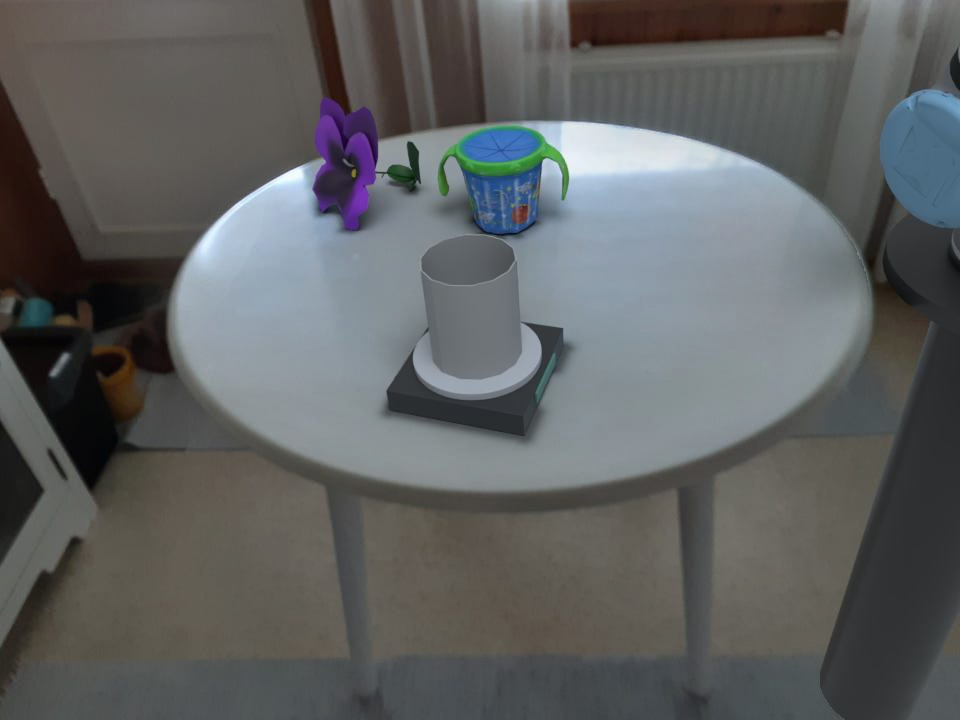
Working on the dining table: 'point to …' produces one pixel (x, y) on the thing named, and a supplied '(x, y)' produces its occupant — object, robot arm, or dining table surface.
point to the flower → (352, 161)
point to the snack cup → (503, 175)
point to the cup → (472, 305)
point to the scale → (479, 385)
